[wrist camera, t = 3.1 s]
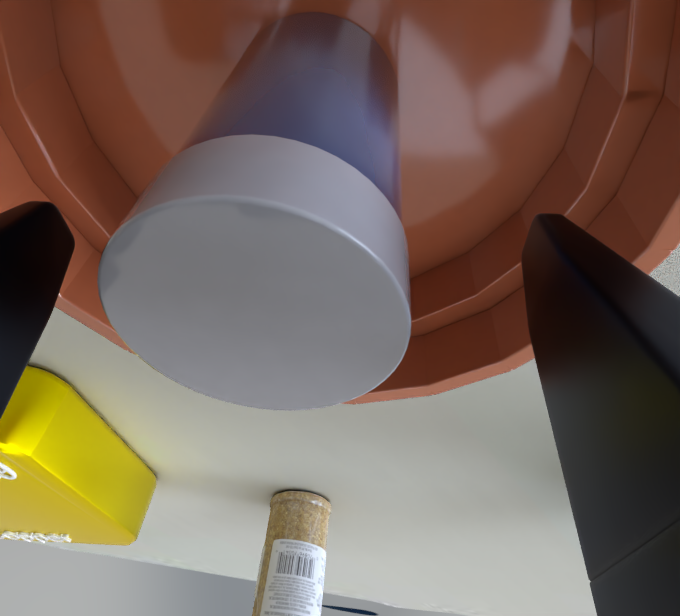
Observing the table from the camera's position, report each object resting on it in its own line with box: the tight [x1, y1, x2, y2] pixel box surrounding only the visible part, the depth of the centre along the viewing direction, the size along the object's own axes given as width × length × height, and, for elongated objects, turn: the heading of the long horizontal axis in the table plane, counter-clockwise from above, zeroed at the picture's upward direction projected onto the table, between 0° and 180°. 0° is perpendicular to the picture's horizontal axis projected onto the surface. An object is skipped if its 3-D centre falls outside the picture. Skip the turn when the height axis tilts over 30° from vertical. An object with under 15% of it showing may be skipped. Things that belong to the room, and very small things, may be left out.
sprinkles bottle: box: [252, 491, 331, 616], centre depth 29 cm, size 5×5×13 cm
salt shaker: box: [97, 12, 411, 410], centre depth 10 cm, size 5×5×8 cm
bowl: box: [0, 0, 680, 404], centre depth 11 cm, size 16×16×4 cm
